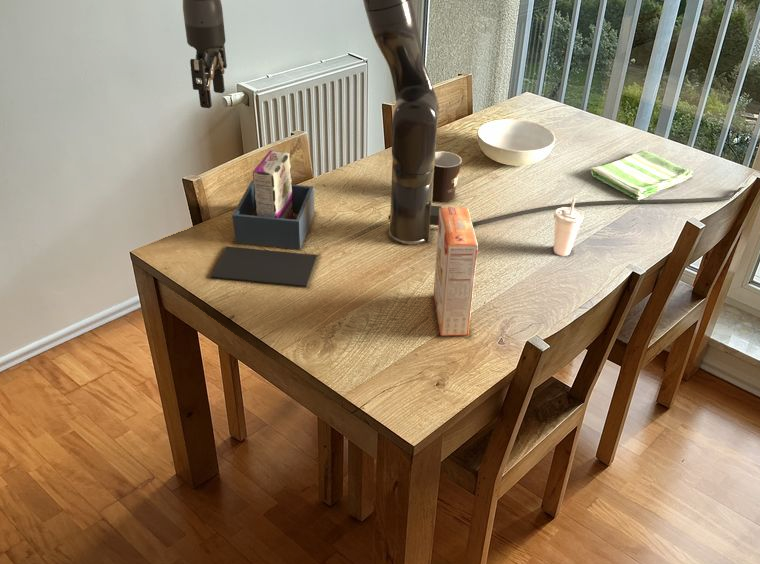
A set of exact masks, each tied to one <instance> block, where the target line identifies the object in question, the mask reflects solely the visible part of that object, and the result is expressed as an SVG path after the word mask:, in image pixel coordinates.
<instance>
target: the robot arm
mask: <svg viewBox="0 0 760 564" xmlns="http://www.w3.org/2000/svg"><path fill="white" fill-rule="evenodd" d="M362 3H363V7H364V10H365V14H366V18H367V21H368V25H369V28H370V31H371V34H372V37H373V39H374V41H375V43H376V45H377V47H378V49H379V51H380V53H381V54H382V56H383V58H384V60H385V62H386V63H387V66H388V69H389V72H390V76H391V80H392V85H393V90H394V97H395V107H394V109H393V110H394V111H393V115H392V123H391V124H392V127H391V157H392V158H391V159H392V161H391V184H390V185H391V186H390V207H389V208H390V211H389V212H390V213H389V215H388V220H389V229H388V235H389V237H390V238H391V240H393V241H395V242H397V243H400V244H403V245H418V244H419V245H420V244H423V243H429V241H430V237H431V228H432V227H431V226H438V220H439V208H442V206H441V205H433V202H434V201H433V181H434V167H435V152H436V147H437V135H438V124H439V123H438V120H439V115H440V104H439V101H438V97H437V94H436V92H435V90H434V87H433V84H432V81H431V78H430V75H429V73H428V70H427V67H426V63H425V59H424V55H423V49H422V48H423V47H422V41H421V35H420V31H419V26H418V25H419V24H418V20H417V15H416V10H415V7H414V2H413V0H362ZM182 13H183V14H182V15H183V21H184V28H185V37H186V43H187V44H188V46H189V47H192V48H194V49H195V51H196V52H195V53H196V54H195V58H190V60H189V62H190V63H189V66H190V73H191V74H190V75H191V83H192V89H193V90H195V91H198V97H199V98H198V99H199V104H200V105H199V106H200V107H201V108H202V109H211V108H212V106H213V103H212V95H211V82H212V87H213V88H212V89H213V92H214V93H217V94H224V93H225V91H226V89H225V80H224V74H225V72H226V71H225V69H227V68H228V64H227V56H226V46H225V45H226V31H225V23H224V11H223V4H222V0H182ZM744 187H745V186H741V187H739V188H737V189H736V191H734V192H733V193H732V194H730V195H727V196H717V197H697V198H695V197H694V198H663V199H661V198H660V199H658V198H657V199H656V198H655V199H654V198H653V199H641V200H637V199H617V200H616V199H615V200H595V201H581V202H575V203H574V208H575V207H585V206H602V205H603V206H604V205H624V204H625V205H628V204H629V205H630V204H635V205H636V204H677V203H678V204H679V203H701V202H704V203H705V202H723V201H728V200H731V199H730V198H732V197H733V196H734V195H735V194H736V193H737V192H739V191H740V190H741V189H742V188H744ZM732 199H733V198H732ZM571 205H572V202H570V203H562V204H555V205H554V204H553V205H548V206H542V207H535V208H530V209H525V210H520V211H515V212H511V213H507V214H503V215H500V216H495V217H492V218H487V219H483V220H478V221H473V222H472V225H473V227H476V226H481V225H487V224H491V223H493V222H497V221H502V220H505V219H511V218H514V217H519V216H522V215H528V214H533V213H538V212H544V211H545V212H546V211H551V210H557V209H558V208H561V207H571Z"/></svg>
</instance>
